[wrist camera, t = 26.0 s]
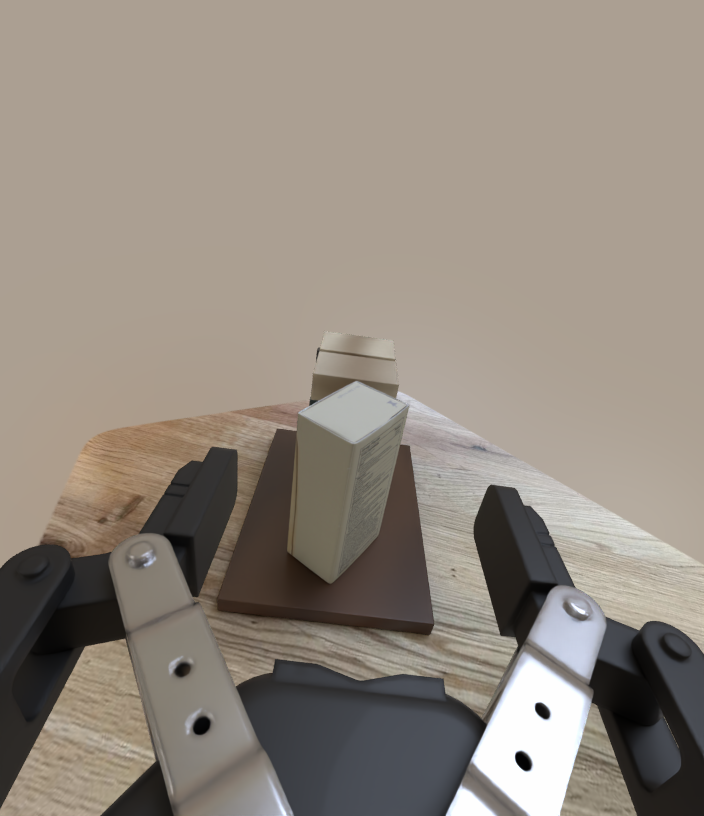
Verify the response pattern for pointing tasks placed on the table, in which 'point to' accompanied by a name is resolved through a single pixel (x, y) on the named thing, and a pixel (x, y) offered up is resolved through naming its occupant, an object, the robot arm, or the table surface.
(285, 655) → the table surface
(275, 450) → the rack
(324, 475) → the cosmetic box
